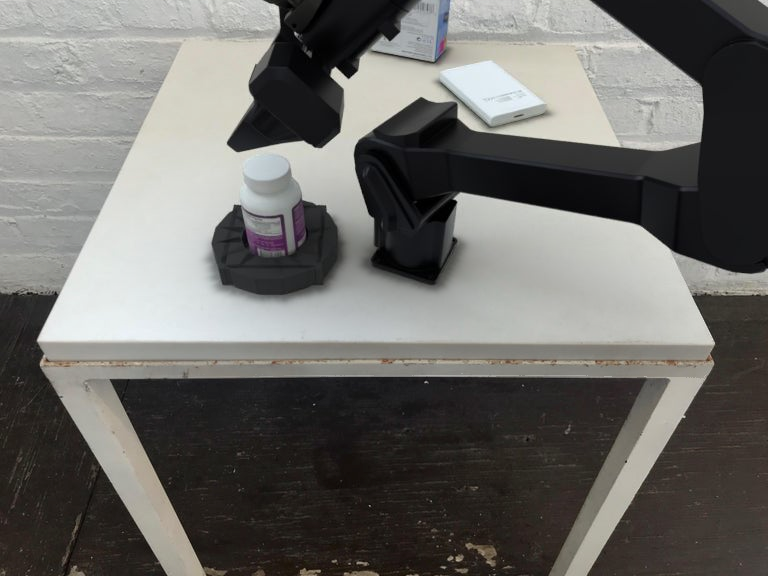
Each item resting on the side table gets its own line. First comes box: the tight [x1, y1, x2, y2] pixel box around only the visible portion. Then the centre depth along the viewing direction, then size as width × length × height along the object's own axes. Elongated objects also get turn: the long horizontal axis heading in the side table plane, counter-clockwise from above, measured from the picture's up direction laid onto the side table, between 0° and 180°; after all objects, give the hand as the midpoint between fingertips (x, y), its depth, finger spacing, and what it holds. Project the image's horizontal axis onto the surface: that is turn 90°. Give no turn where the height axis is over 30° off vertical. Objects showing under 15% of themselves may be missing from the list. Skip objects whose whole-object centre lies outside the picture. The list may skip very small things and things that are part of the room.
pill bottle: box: [239, 152, 307, 257], centre depth 55 cm, size 5×5×10 cm
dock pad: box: [210, 199, 339, 295], centre depth 58 cm, size 11×11×2 cm
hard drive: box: [439, 60, 548, 128], centre depth 79 cm, size 2×8×12 cm
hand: (243, 115), depth 50 cm, fingers open, 9 cm apart
